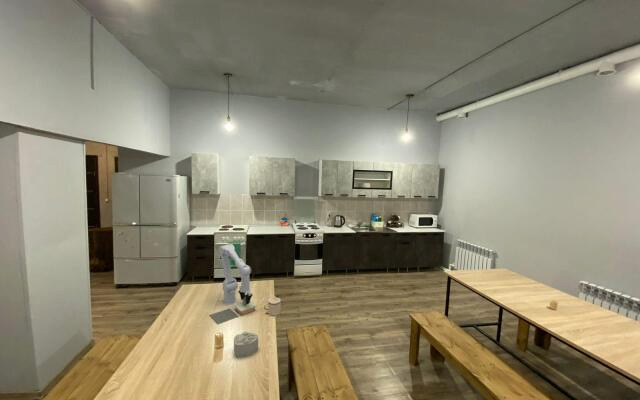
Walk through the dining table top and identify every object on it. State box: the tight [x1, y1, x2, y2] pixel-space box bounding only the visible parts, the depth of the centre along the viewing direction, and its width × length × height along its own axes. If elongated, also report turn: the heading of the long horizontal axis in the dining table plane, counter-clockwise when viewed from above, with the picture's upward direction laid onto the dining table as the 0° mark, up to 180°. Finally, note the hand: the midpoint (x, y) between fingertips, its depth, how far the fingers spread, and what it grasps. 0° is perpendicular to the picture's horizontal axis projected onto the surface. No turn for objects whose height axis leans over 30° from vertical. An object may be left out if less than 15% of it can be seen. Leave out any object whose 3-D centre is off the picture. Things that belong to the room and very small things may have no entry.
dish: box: [235, 307, 256, 316], centre depth 194 cm, size 10×10×4 cm
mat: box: [208, 307, 240, 325], centre depth 186 cm, size 15×15×1 cm
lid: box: [232, 298, 257, 312], centre depth 193 cm, size 12×12×5 cm
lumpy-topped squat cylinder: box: [233, 331, 259, 358], centre depth 151 cm, size 10×13×9 cm
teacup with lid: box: [263, 296, 282, 316], centre depth 192 cm, size 12×9×12 cm
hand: (245, 301), depth 194 cm, fingers open, 7 cm apart
